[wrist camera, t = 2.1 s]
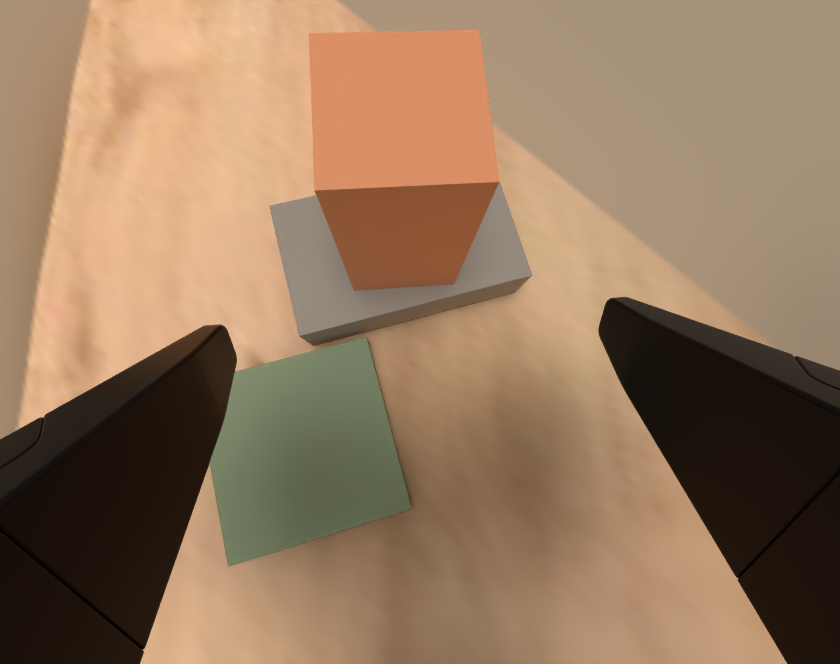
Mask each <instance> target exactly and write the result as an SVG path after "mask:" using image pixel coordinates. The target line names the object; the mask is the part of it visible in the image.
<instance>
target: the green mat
mask: <svg viewBox="0 0 840 664" xmlns="http://www.w3.org/2000/svg"><path fill="white" fill-rule="evenodd" d="M210 467H211V473H212V478H213V484H214V489H215V495H216V501H217V506H218V512H219V518H220V523H221V529H222V534H223V540H224V546H225V551H226V557H227V563H228V567H229V566H232V565H235V564H238V563H242V562H245V561H248V560H251V559H254V558H257V557H261V556H264V555H267V554H270V553H273V552H276V551H280V550H283V549H286V548H289V547H292V546H295V545H299V544H302V543H305V542H308V541H311V540H315V539H318V538H321V537H324V536H327V535H330V534H334V533H337V532H340V531H343V530H346V529H349V528H353V527H356V526H359V525H362V524H365V523H368V522H372V521H375V520H378V519H381V518H384V517H388V516H391V515H394V514H397V513H400V512H403V511H407V510H410V509H411V503H410V499H409V495H408V492H407V488H406V484H405V480H404V476H403V472H402V469H401V465H400V461H399V457H398V453H397V450H396V446H395V442H394V438H393V434H392V430H391V427H390V423H389V419H388V415H387V411H386V407H385V404H384V400H383V396H382V392H381V388H380V384H379V381H378V377H377V373H376V369H375V365H374V362H373V358H372V354H371V350H370V346H369V342H368V339H367V337H365V338H361V339H357V340H353V341H350V342H346V343H342V344H338V345H335V346H331V347H327V348H323V349H320V350H316V351H312V352H308V353H304V354H301V355H297V356H293V357H289V358H286V359H282V360H278V361H274V362H271V363H267V364H263V365H259V366H256V367H252V368H248V369H244V370H240V371H237V372H235V373H234V378H233V383H232V387H231V392H230V397H229V401H228V406H227V411H226V415H225V419H224V422H223V425H222V428H221V431H220V434H219V437H218V440H217V443H216V446H215V449H214V451H213V454H212V457H211V460H210Z"/></svg>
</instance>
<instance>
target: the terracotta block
mask: <svg viewBox="0 0 840 664" xmlns="http://www.w3.org/2000/svg"><path fill="white" fill-rule="evenodd" d="M309 45H310V73H311V101H312V129H313V157H314V186H315V193H316V195H317V198H318V200H319V203H320V205H321V208H322V210H323V213H324V215H325V218H326V221H327V223H328V226H329V228H330V231H331V233H332V236H333V238H334V241H335V243H336V246H337V248H338V251H339V253H340V256H341V259H342V261H343V264H344V266H345V269H346V271H347V274H348V276H349V279H350V281H351V284H352V286H353V289H354V291H357V290H373V289H388V288H404V287H419V286H435V285H450V284H454V283H455V281H456V279H457V277H458V274H459V272H460V270H461V268H462V265H463V263H464V261H465V259H466V256H467V254H468V252H469V250H470V247H471V245H472V243H473V240H474V238H475V236H476V234H477V231H478V229H479V227H480V225H481V222H482V220H483V218H484V216H485V213H486V211H487V209H488V207H489V204H490V202H491V200H492V198H493V195H494V193H495V191H496V188H497V186H498V184H499V175H498V167H497V160H496V152H495V145H494V137H493V130H492V122H491V115H490V108H489V100H488V93H487V85H486V78H485V71H484V63H483V55H482V48H481V40H480V33H479V30H450V31H403V32H352V33H309Z"/></svg>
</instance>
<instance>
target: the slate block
mask: <svg viewBox="0 0 840 664" xmlns="http://www.w3.org/2000/svg"><path fill="white" fill-rule="evenodd" d="M270 210H271V215H272V219H273V224H274V228H275V232H276V237H277V241H278V245H279V250H280V254H281V258H282V263H283V267H284V271H285V276H286V280H287V284H288V289H289V293H290V297H291V302H292V306H293V310H294V315H295V319H296V324H297V328H298V332H299V336H300V337H302V338H303V339H304V340H306V341H307V342H309V343H310V344H312V345H313V346H314V345H318V344H321V343H325V342H329V341H333V340H337V339H340V338H344V337H348V336H352V335H355V334H359V333H363V332H367V331H371V330H374V329H378V328H382V327H386V326H390V325H393V324H397V323H401V322H405V321H409V320H412V319H416V318H420V317H424V316H427V315H431V314H435V313H439V312H443V311H446V310H450V309H454V308H458V307H462V306H465V305H469V304H473V303H477V302H480V301H484V300H488V299H492V298H496V297H499V296H503V295H507V294H511V293H515V292H516V291H517V290H518V289H519V288H520V287H521V286H522V285H523V284H524V283H525V282H526V281H527V280H528V279H529V278H530V277H531V276H532V273H531V270H530V267H529V265H528V262H527V259H526V256H525V253H524V250H523V247H522V244H521V242H520V239H519V236H518V233H517V230H516V227H515V224H514V221H513V219H512V216H511V213H510V210H509V207H508V204H507V201H506V199H505V196H504V193H503V190H502V187H501V184H500V181H499V184H498V186H497V188H496V191H495V193H494V195H493V198H492V200H491V202H490V204H489V207H488V209H487V211H486V213H485V216H484V218H483V220H482V222H481V225H480V227H479V229H478V231H477V234H476V236H475V238H474V240H473V243H472V245H471V247H470V250H469V252H468V254H467V256H466V259H465V261H464V263H463V265H462V268H461V270H460V272H459V274H458V277H457V279H456V281H455V283H454V284H450V285H435V286H419V287H404V288H388V289H373V290H357V291H354V289H353V286H352V284H351V281H350V279H349V276H348V274H347V271H346V269H345V266H344V264H343V261H342V259H341V256H340V253H339V251H338V248H337V246H336V243H335V241H334V238H333V236H332V233H331V231H330V228H329V226H328V223H327V221H326V218H325V215H324V213H323V210H322V208H321V205H320V203H319V200H318V198H317V195H316V196H312V197H307V198H303V199H298V200H294V201H289V202H285V203H280V204H276V205H272V206H270Z"/></svg>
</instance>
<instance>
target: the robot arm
mask: <svg viewBox="0 0 840 664" xmlns="http://www.w3.org/2000/svg"><path fill="white" fill-rule="evenodd" d="M599 336H600V339H601V341H602V343H603V345H604V348H605V350H606V352H607V354H608V356H609V359H610V361H611V363H612V365H613V367H614V370H615V372H616V374H617V376H618V378H619V381H620V383H621V385H622V387H623V388H624V390H625V392H626V394H627V395H628V397H629V399H630V400H631V402H632V404H633V405H634V407H635V409H636V411H637V412H638V414H639V416H640V417H641V419H642V421H643V422H644V424H645V426H646V427H647V429H648V431H649V432H650V434H651V436H652V437H653V439H654V441H655V442H656V444H657V446H658V447H659V449H660V451H661V452H662V454H663V456H664V457H665V459H666V461H667V462H668V464H669V466H670V467H671V469H672V471H673V472H674V474H675V476H676V477H677V479H678V481H679V482H680V484H681V486H682V488H683V489H684V491H685V493H686V494H687V496H688V498H689V499H690V501H691V503H692V504H693V506H694V508H695V509H696V511H697V513H698V514H699V516H700V518H701V519H702V521H703V523H704V524H705V526H706V528H707V529H708V531H709V533H710V534H711V536H712V538H713V539H714V541H715V543H716V544H717V546H718V548H719V549H720V551H721V553H722V554H723V556H724V558H725V560H726V561H727V563H728V565H729V566H730V568H731V570H732V571H733V573H734V575H735V576H736V577H737V578H738V582H739V583H740V585H741V587H742V588H743V590H744V592H745V593H746V595H747V597H748V599H749V600H750V602H751V604H752V605H753V607H754V609H755V610H756V612H757V614H758V615H759V617H760V619H761V620H762V622H763V624H764V625H765V627H766V629H767V630H768V632H769V634H770V635H771V637H772V639H773V640H774V642H775V644H776V645H777V647H778V649H779V650H780V652H781V654H782V656H783V657H784V659H785V661H786V662H787V664H840V371H839V370H836V369H833V368H830V367H827V366H824V365H821V364H818V363H816V362H813V361H809V360H807V359H804V358H801V357H798V356H795V357H794V356H793V355H792V354H789V353H787V352H784V351H781V350H778V349H775V348H772V347H769V346H766V345H763V344H761V343H758V342H755V341H752V340H749V339H746V338H743V337H740V336H738V335H735V334H732V333H729V332H726V331H723V330H720V329H717V328H714V327H712V326H709V325H706V324H703V323H700V322H697V321H694V320H691V319H689V318H686V317H683V316H680V315H677V314H674V313H671V312H668V311H665V310H663V309H660V308H657V307H654V306H651V305H648V304H645V303H642V302H640V301H637V300H634V299H631V298H628V297H618V298H610V299H609V300H607V302H606V304H605V307H604V311H603V314H602V317H601V321H600V324H599ZM236 363H237V357H236V353H235V350H234V347H233V344H232V342H231V339H230V336H229V333H228V331H227V329H226V328H225V326H223V325H206V326H203V327H201V328H199V329H197V330H195V331H194V332H192V333H190V334H188V335H187V336H185V337H183V338H181V339H179V340H178V341H176V342H174V343H172V344H170V345H169V346H167V347H165V348H163V349H162V350H160V351H158V352H156V353H154V354H153V355H151V356H149V357H147V358H145V359H144V360H142V361H140V362H138V363H137V364H135V365H133V366H131V367H129V368H128V369H126V370H124V371H122V372H120V373H119V374H117V375H115V376H113V377H112V378H110V379H108V380H106V381H104V382H103V383H101V384H99V385H97V386H95V387H94V388H92V389H90V390H88V391H87V392H85V393H83V394H81V395H79V396H78V397H76V398H74V399H72V400H70V401H69V402H67V403H65V404H63V405H62V406H60V407H58V408H56V409H54V410H53V411H51V412H49V413H47V414H46V415H45V416H44V418H42V417H41V418H38V419H36V420H35V421H33V422H31V423H29V424H27V425H26V426H24V427H22V428H20V429H18V430H17V431H15V432H13V433H11V434H10V435H8V436H6V437H4V438H2V439H0V664H140V662H141V659H142V656H143V653H144V651H143V649H144V648H145V647H146V644H147V641H148V638H149V635H150V632H151V629H152V626H153V624H154V621H155V618H156V615H157V612H158V609H159V606H160V603H161V601H162V598H163V595H164V592H165V589H166V586H167V583H168V581H169V578H170V575H171V572H172V569H173V566H174V563H175V560H176V558H177V555H178V552H179V549H180V546H181V543H182V540H183V537H184V535H185V532H186V529H187V526H188V523H189V520H190V517H191V515H192V512H193V509H194V506H195V503H196V500H197V497H198V494H199V492H200V489H201V486H202V483H203V480H204V477H205V474H206V471H207V469H208V466H209V463H210V460H211V457H212V454H213V451H214V449H215V446H216V443H217V440H218V437H219V434H220V431H221V428H222V425H223V422H224V419H225V415H226V411H227V406H228V401H229V397H230V392H231V387H232V383H233V378H234V373H235V368H236Z"/></svg>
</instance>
